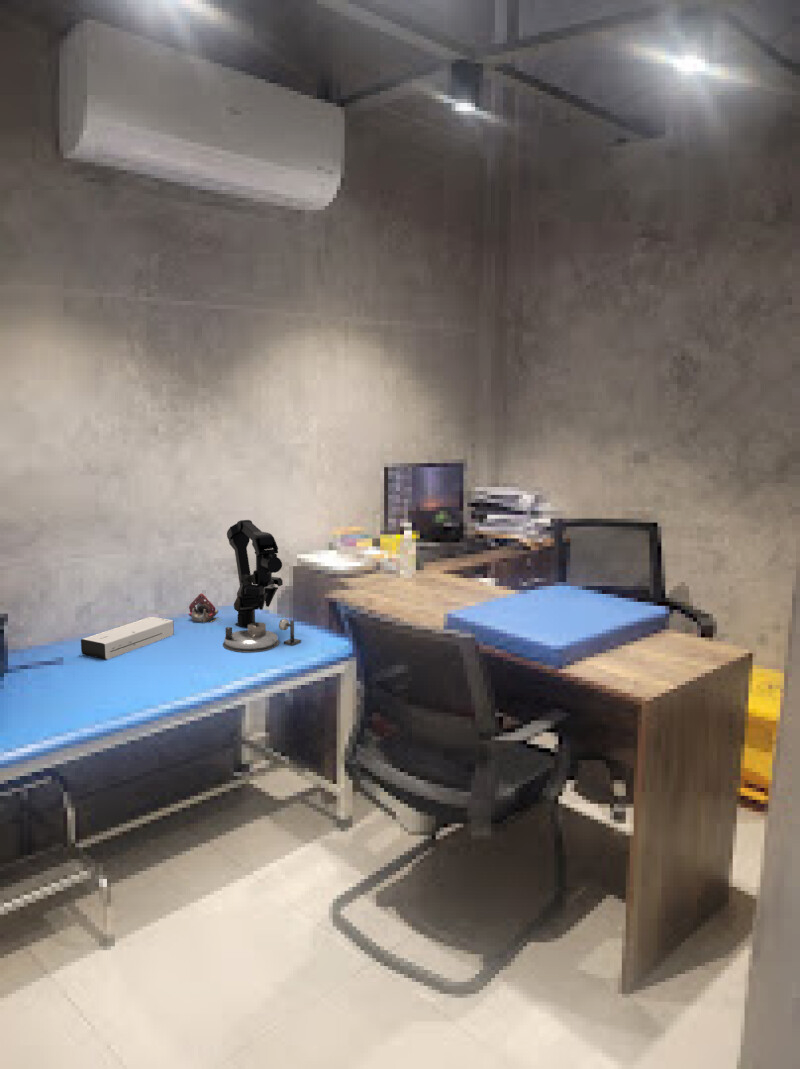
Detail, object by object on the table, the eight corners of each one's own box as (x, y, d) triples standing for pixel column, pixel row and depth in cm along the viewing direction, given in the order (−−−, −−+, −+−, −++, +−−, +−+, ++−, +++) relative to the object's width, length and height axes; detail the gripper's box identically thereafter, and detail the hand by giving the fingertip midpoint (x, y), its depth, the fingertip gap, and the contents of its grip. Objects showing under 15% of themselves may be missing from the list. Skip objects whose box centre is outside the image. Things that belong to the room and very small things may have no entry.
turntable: (250, 631, 313) (250, 616, 312) (288, 640, 303) (288, 625, 302) (213, 644, 298) (213, 628, 297) (251, 653, 287) (251, 637, 286)
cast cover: (256, 630, 308) (256, 621, 307) (269, 633, 305) (269, 624, 304) (244, 634, 303) (243, 624, 302) (257, 637, 299) (257, 628, 298)
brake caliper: (181, 617, 324) (189, 590, 330) (191, 627, 334) (198, 600, 339) (208, 619, 322) (215, 591, 327) (217, 630, 332) (224, 602, 337)
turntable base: (250, 632, 314) (250, 631, 314) (290, 642, 303) (290, 641, 303) (211, 645, 297) (211, 644, 297) (251, 656, 286) (251, 655, 286)
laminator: (105, 661, 280) (104, 643, 279) (79, 655, 285) (78, 638, 284) (174, 636, 310) (173, 620, 309) (149, 631, 315) (149, 615, 314)
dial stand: (290, 640, 306) (289, 616, 304) (300, 642, 303) (300, 619, 301) (279, 643, 301) (278, 620, 299) (290, 646, 298) (289, 622, 296)
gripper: (257, 561, 316) (257, 600, 319) (231, 570, 299) (232, 611, 302) (283, 563, 313) (283, 603, 315) (258, 573, 295) (259, 615, 298)
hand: (264, 608), depth 308 cm, fingers open, 5 cm apart
